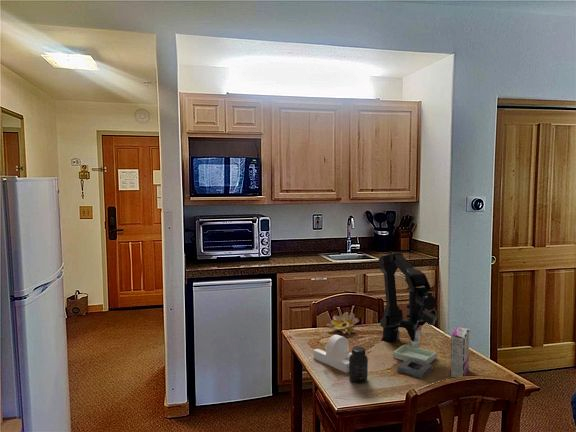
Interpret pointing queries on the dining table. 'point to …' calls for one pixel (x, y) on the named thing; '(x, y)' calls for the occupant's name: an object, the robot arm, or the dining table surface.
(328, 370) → the dining table surface
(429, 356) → the tray
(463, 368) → the candy bar box
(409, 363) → the collar
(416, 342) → the salt shaker
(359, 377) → the supplement bottle
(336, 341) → the white tape roll holder
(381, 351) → the dining table surface
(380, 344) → the dining table surface
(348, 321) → the decorative flower
